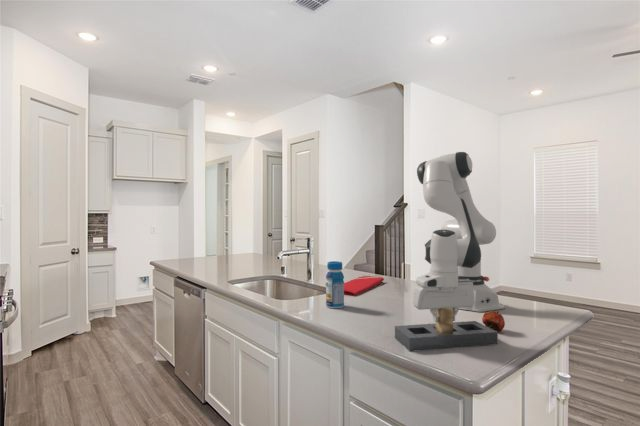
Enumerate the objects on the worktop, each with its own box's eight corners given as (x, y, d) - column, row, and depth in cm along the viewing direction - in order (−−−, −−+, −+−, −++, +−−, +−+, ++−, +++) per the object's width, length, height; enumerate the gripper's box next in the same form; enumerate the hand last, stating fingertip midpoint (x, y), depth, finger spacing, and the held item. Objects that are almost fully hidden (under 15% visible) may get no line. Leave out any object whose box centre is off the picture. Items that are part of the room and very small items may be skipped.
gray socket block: (475, 332, 129) (475, 320, 129) (497, 344, 117) (497, 331, 117) (394, 337, 124) (394, 326, 124) (409, 351, 112) (409, 338, 112)
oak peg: (446, 334, 123) (446, 304, 123) (452, 338, 119) (452, 307, 119) (435, 335, 122) (435, 305, 122) (441, 339, 118) (441, 308, 118)
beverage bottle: (341, 309, 160) (341, 263, 160) (323, 307, 163) (322, 263, 163) (346, 304, 168) (346, 261, 168) (329, 303, 171) (329, 260, 170)
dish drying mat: (328, 293, 192) (328, 286, 192) (360, 280, 227) (360, 275, 227) (355, 297, 184) (355, 290, 184) (384, 283, 219) (384, 277, 219)
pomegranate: (500, 342, 126) (514, 320, 129) (489, 326, 124) (503, 305, 128) (482, 337, 132) (496, 317, 136) (472, 323, 131) (486, 303, 135)
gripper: (467, 276, 125) (467, 316, 125) (411, 278, 122) (411, 320, 122) (478, 280, 119) (478, 322, 119) (419, 282, 116) (419, 325, 116)
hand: (444, 321), depth 120 cm, fingers closed on oak peg, 4 cm apart
